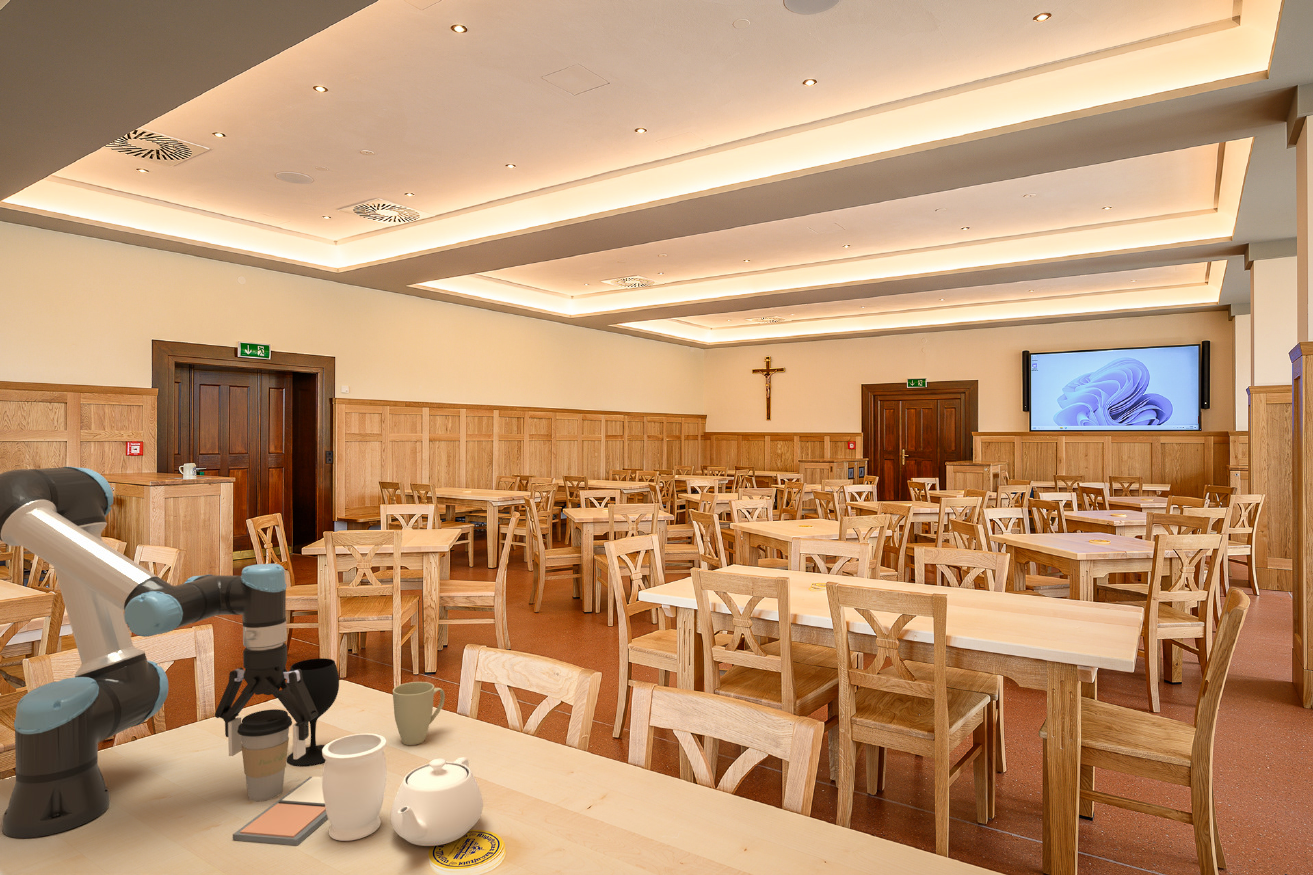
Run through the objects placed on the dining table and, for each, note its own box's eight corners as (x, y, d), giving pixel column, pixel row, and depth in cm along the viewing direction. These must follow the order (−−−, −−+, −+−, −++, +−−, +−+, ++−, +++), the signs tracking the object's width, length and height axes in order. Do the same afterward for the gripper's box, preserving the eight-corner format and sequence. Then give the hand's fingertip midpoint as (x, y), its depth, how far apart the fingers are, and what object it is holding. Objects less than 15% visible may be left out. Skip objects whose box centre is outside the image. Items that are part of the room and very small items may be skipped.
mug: (431, 749, 166) (431, 694, 166) (386, 748, 166) (386, 694, 166) (445, 729, 176) (445, 678, 176) (403, 729, 177) (403, 678, 177)
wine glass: (349, 753, 163) (349, 661, 163) (304, 771, 155) (304, 674, 155) (320, 742, 169) (320, 654, 169) (276, 759, 160) (276, 666, 160)
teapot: (427, 795, 144) (427, 732, 144) (504, 801, 142) (504, 737, 142) (354, 869, 120) (354, 792, 120) (445, 878, 117) (445, 800, 117)
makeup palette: (232, 839, 128) (232, 831, 128) (310, 781, 150) (310, 773, 150) (297, 845, 126) (297, 836, 126) (365, 785, 148) (365, 777, 148)
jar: (346, 851, 124) (346, 761, 124) (309, 834, 130) (309, 748, 130) (399, 823, 134) (399, 740, 133) (362, 808, 139) (362, 728, 139)
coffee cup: (269, 808, 139) (269, 727, 139) (225, 803, 141) (225, 723, 141) (303, 784, 149) (302, 709, 148) (261, 780, 150) (261, 706, 150)
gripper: (192, 649, 143) (194, 760, 143) (312, 652, 139) (315, 765, 139) (220, 638, 150) (222, 744, 150) (335, 641, 147) (337, 749, 147)
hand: (267, 754), depth 145 cm, fingers open, 13 cm apart
